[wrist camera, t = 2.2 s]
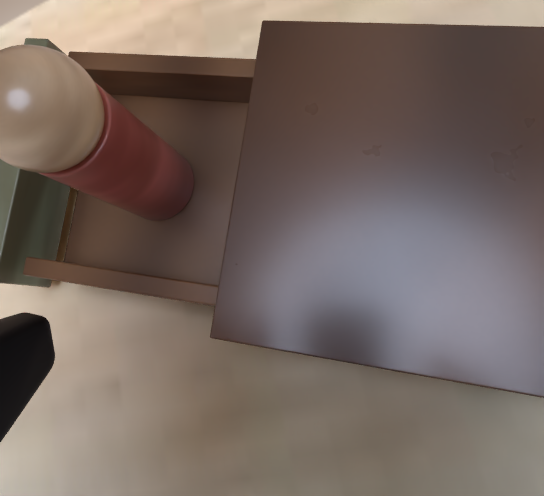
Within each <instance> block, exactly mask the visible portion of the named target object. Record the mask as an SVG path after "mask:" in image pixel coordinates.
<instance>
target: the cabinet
mask: <svg viewBox="0 0 544 496" xmlns="http://www.w3.org/2000/svg"><path fill="white" fill-rule="evenodd" d="M210 338H214V339H219V340H225V341H230V342H236V343H241V344H247V345H253V346H258V347H264V348H269V349H275V350H280V351H286V352H292V353H297V354H303V355H308V356H314V357H320V358H325V359H331V360H336V361H342V362H347V363H353V364H359V365H364V366H370V367H375V368H381V369H387V370H392V371H398V372H403V373H409V374H414V375H420V376H426V377H431V378H437V379H442V380H448V381H453V382H459V383H465V384H470V385H476V386H481V387H487V388H493V389H498V390H504V391H509V392H515V393H520V394H526V395H532V396H537V397H543V398H544V27H523V26H479V25H436V24H392V23H349V22H305V21H263V22H262V27H261V33H260V39H259V45H258V51H257V57H256V63H255V69H254V75H253V81H252V87H251V93H250V99H249V105H248V111H247V117H246V123H245V129H244V135H243V141H242V147H241V153H240V159H239V165H238V171H237V177H236V183H235V189H234V195H233V201H232V207H231V213H230V219H229V225H228V231H227V237H226V243H225V250H224V256H223V262H222V268H221V274H220V280H219V286H218V292H217V298H216V304H215V310H214V316H213V322H212V328H211V334H210Z"/></svg>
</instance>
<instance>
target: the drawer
mask: <svg viewBox="0 0 544 496" xmlns="http://www.w3.org/2000/svg"><path fill="white" fill-rule="evenodd" d="M24 45H37V46H44V47H47V48H51V49H54V50H57V51H59V52H61V53H63V54H65V53H64V52H62V51H61V50H60V49H59V48H58V47H57V46H55V45H54V44H53V43H52V42H51V41H50V40H48V39H34V38H26V39H25V43H24ZM65 55H66V54H65ZM68 57H70V58H71V59H73V60H74V61H76V62H77V63H78V64H79V65H80V66H81V67H83V68H84V69H85V71H86V72H87V73H88V74H89V75H90V76H91V78H92V79H93V81H94V82H95V83H97V84H98V85H99V86H100V87H101V88H103V89H104V90H105V91H106V92H107V93H108V94H110V95H111V96H112V97H113V98H114V99H116V100H117V101H118V102H119V103H120V104H122V105H123V106H124V107H125V108H126V109H127V110H129V111H130V112H131V113H132V114H133V115H135V116H136V117H137V118H138V119H139V120H140V121H142V122H143V123H144V124H145V125H146V126H148V127H149V128H150V129H151V130H152V131H154V132H155V133H156V134H157V135H158V136H159V137H161V138H162V139H163V140H164V141H165V142H167V143H168V144H169V145H170V146H171V147H172V148H174V149H175V150H176V151H177V152H178V153H180V154H181V155H182V156H183V157H184V158H185V159H186V160H187V161H188V163H189V164H190V166H191V169H192V172H193V176H194V187H193V192H192V195H191V198H190V200H189V201H188V203H187V204H186V206H185V207H184V208H183V209H182V210H181V211H180V212H179V213H178V214H176V215H175V216H173V217H171V218H168V219H165V220H159V221H153V220H148V219H145V218H142V217H140V216H138V215H135V214H133V213H131V212H128V211H126V210H124V209H121V208H119V207H117V206H114V205H112V204H109V203H107V202H105V201H102V200H100V199H98V198H95V197H93V196H91V195H88V194H86V193H84V192H81V191H79V190H78V194H77V199H76V204H75V209H74V214H73V219H72V223H71V228H70V233H69V238H68V243H67V248H66V253H65V258H64V262H61V261H56V256H57V251H58V246H59V242H60V237H61V232H62V227H63V222H64V217H65V212H66V207H67V202H68V198H69V193H70V188H71V187H69V186H67V185H65V184H62V183H60V182H58V181H55V180H53V179H51V178H48V177H46V176H44V175H41V174H39V173H37V172H31V171H26V170H22V169H19V168H17V167H14V166H12V165H10V164H8V163H6V162H4V161H2V160H1V159H0V283H5V284H17V285H29V286H41V287H50V286H51V281H52V280H57V281H63V282H69V283H75V284H81V285H87V286H93V287H99V288H105V289H112V290H118V291H124V292H130V293H136V294H142V295H148V296H154V297H161V298H167V299H173V300H179V301H185V302H191V303H197V304H203V305H210V306H215V304H216V298H217V292H218V286H219V280H220V274H221V268H222V262H223V256H224V250H225V243H226V237H227V231H228V225H229V219H230V213H231V207H232V201H233V195H234V189H235V183H236V177H237V171H238V165H239V159H240V153H241V147H242V141H243V135H244V129H245V123H246V117H247V111H248V105H249V99H250V93H251V87H252V81H253V75H254V69H255V63H256V59H236V58H212V57H188V56H164V55H140V54H116V53H92V52H69V55H68Z"/></svg>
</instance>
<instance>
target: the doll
mask: <svg viewBox="0 0 544 496" xmlns="http://www.w3.org/2000/svg"><path fill="white" fill-rule="evenodd" d="M0 159H1V160H2V161H4V162H6V163H8V164H10V165H12V166H14V167H17V168H19V169H22V170H26V171H31V172H37V173H39V174H41V175H44V176H46V177H48V178H51V179H53V180H55V181H58V182H60V183H62V184H65V185H67V186H69V187H72V188H74V189H77V190H79V191H81V192H84V193H86V194H88V195H91V196H93V197H95V198H98V199H100V200H102V201H105V202H107V203H109V204H112V205H114V206H117V207H119V208H121V209H124V210H126V211H128V212H131V213H133V214H135V215H138V216H140V217H142V218H145V219H148V220H153V221H159V220H165V219H168V218H171V217H173V216H175V215H176V214H178V213H179V212H180V211H181V210H182V209H183V208H184V207H185V206H186V204H187V203H188V201H189V200H190V198H191V195H192V192H193V187H194V176H193V172H192V169H191V166H190V164H189V163H188V161H187V160H186V159H185V158H184V157H183V156H182V155H181V154H180V153H178V152H177V151H176V150H175V149H174V148H172V147H171V146H170V145H169V144H168V143H167V142H165V141H164V140H163V139H162V138H161V137H159V136H158V135H157V134H156V133H155V132H154V131H152V130H151V129H150V128H149V127H148V126H146V125H145V124H144V123H143V122H142V121H140V120H139V119H138V118H137V117H136V116H135V115H133V114H132V113H131V112H130V111H129V110H127V109H126V108H125V107H124V106H123V105H122V104H120V103H119V102H118V101H117V100H116V99H114V98H113V97H112V96H111V95H110V94H108V93H107V92H106V91H105V90H104V89H103V88H101V87H100V86H99V85H98V84H97V83H95V82H94V81H93V79H92V78H91V76H90V75H89V74H88V73H87V72H86V71H85V69H84V68H83V67H81V66H80V65H79V64H78V63H77V62H76V61H74V60H73V59H71V58H70V57H68V56H67V55H65V54H63V53H61V52H59V51H57V50H54V49H51V48H47V47H44V46H37V45H17V46H11V47H8V48H5V49H2V50H0Z"/></svg>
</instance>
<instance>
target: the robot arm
mask: <svg viewBox="0 0 544 496" xmlns="http://www.w3.org/2000/svg"><path fill="white" fill-rule="evenodd" d="M54 360H55V352H54V346H53V340H52V334H51V329H50V324H49V322H48V320H47V319H46V318H45V317H43V316H39V315H35V314H30V313H19V314H16V315H13V316H9V317H6V318H3V319H0V442H1V441H2V439H3V438H4V437H5V435H6V434H7V432H8V431H9V430H10V428H11V427H12V425H13V424H14V422H15V421H16V419H17V418H18V417H19V415H20V414H21V412H22V411H23V409H24V408H25V406H26V405H27V403H28V402H29V401H30V399H31V398H32V396H33V395H34V393H35V392H36V390H37V389H38V387H39V386H40V385H41V383H42V382H43V380H44V379H45V377H46V376H47V374H48V373H49V371H50V370H51V368H52V366H53V364H54Z"/></svg>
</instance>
